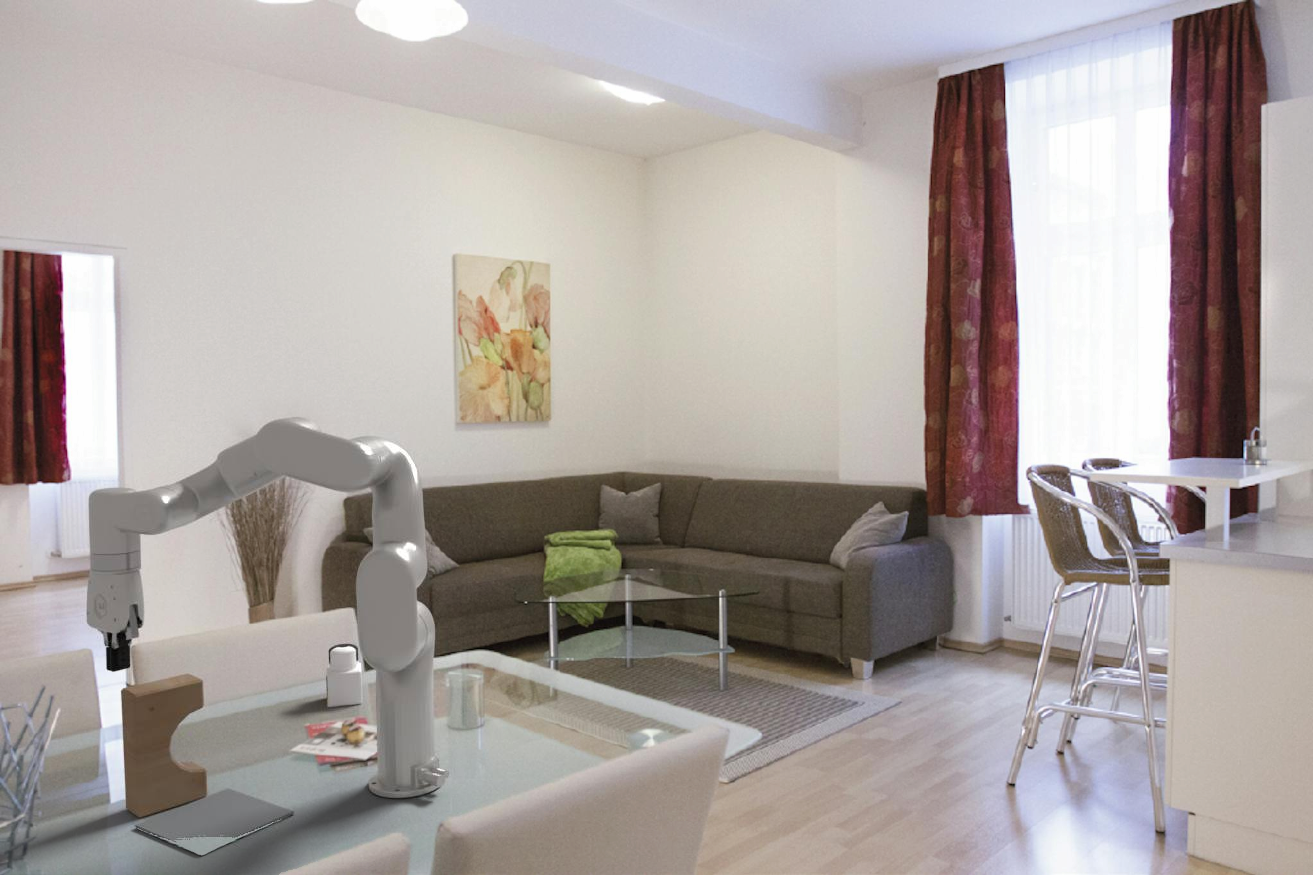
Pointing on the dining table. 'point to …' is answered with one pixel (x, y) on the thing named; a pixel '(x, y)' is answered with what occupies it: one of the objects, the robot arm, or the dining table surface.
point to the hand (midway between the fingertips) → (118, 668)
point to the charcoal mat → (215, 817)
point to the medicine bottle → (343, 676)
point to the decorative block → (159, 745)
